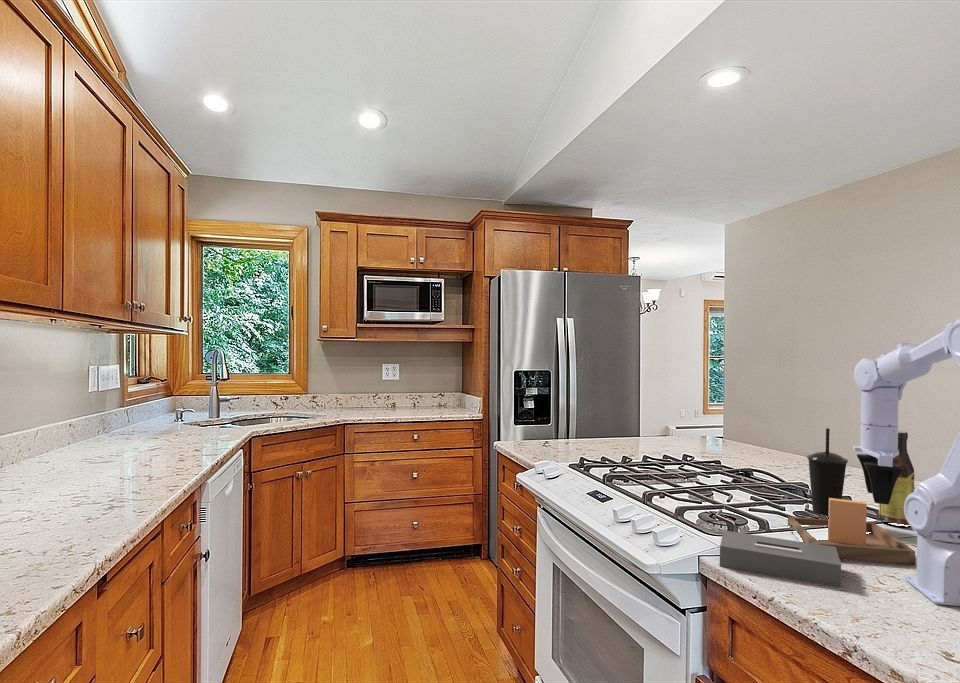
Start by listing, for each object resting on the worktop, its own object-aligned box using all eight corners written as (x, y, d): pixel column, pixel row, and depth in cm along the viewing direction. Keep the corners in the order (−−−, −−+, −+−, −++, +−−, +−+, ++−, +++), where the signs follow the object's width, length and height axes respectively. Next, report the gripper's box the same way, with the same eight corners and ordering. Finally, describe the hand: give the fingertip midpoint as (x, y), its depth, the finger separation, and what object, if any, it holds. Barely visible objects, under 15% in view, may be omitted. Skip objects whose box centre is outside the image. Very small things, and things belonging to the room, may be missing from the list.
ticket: (864, 543, 112) (865, 502, 112) (865, 546, 110) (866, 504, 110) (828, 538, 114) (828, 497, 114) (828, 541, 113) (829, 499, 113)
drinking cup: (798, 517, 130) (799, 427, 129) (820, 513, 133) (822, 425, 132) (831, 527, 123) (833, 432, 122) (854, 523, 126) (856, 430, 125)
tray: (914, 565, 103) (915, 551, 103) (815, 557, 106) (815, 543, 106) (873, 534, 119) (873, 522, 119) (787, 528, 122) (787, 516, 122)
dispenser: (835, 567, 102) (835, 545, 102) (840, 586, 94) (841, 563, 94) (723, 548, 110) (723, 528, 110) (719, 565, 102) (720, 544, 102)
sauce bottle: (920, 529, 122) (922, 434, 122) (886, 527, 123) (888, 433, 123) (904, 519, 128) (906, 429, 128) (872, 517, 130) (874, 428, 129)
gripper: (848, 418, 116) (847, 486, 116) (859, 428, 103) (857, 505, 103) (891, 420, 113) (890, 490, 113) (907, 431, 100) (906, 510, 100)
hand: (877, 498), depth 108 cm, fingers open, 7 cm apart
